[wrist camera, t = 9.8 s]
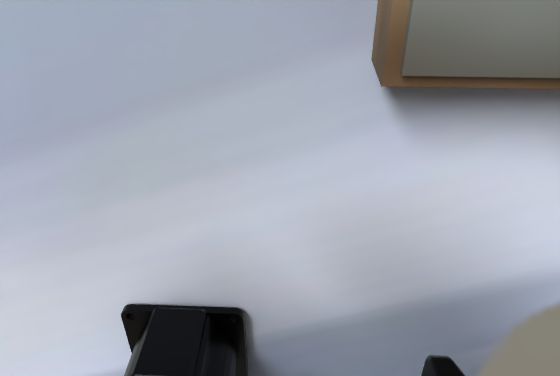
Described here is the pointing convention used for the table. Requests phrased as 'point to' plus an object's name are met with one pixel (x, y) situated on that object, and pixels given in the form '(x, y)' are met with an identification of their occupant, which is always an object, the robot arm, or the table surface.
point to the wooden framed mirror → (468, 43)
